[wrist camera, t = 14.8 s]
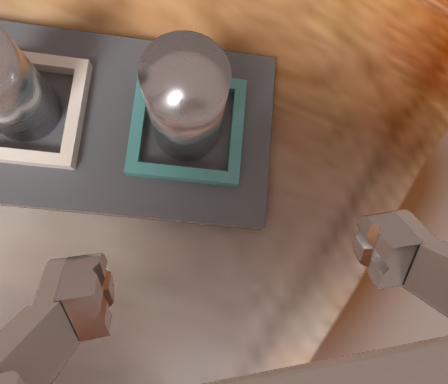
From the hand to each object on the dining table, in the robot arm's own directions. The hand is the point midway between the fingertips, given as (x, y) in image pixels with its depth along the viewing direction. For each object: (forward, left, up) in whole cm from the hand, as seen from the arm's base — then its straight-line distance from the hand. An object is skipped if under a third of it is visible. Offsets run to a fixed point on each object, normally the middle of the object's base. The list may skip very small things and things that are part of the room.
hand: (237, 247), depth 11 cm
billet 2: (+8, +3, -12) cm, 15 cm away
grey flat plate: (+8, +8, -14) cm, 18 cm away
